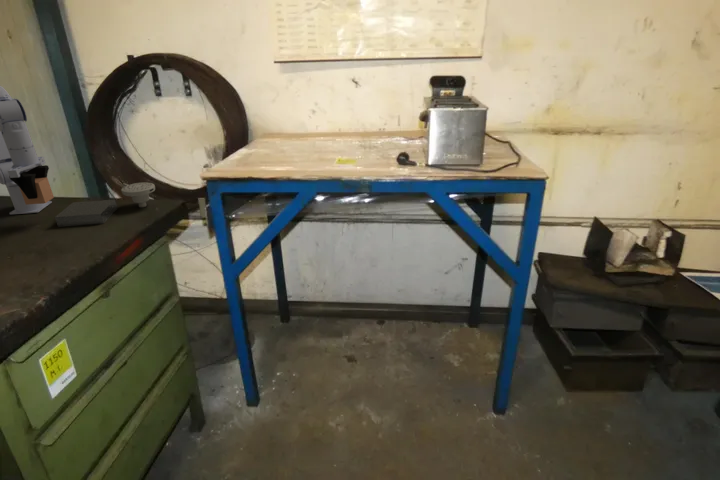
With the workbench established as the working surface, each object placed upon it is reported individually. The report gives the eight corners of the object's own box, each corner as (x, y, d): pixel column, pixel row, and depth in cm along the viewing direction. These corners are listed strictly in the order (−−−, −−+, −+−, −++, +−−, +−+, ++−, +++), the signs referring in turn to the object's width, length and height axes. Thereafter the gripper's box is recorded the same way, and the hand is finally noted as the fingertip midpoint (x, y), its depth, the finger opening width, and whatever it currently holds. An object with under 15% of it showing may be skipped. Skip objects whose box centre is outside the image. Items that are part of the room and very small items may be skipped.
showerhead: (132, 178, 136) (160, 180, 134) (138, 199, 139) (164, 201, 137) (111, 188, 128) (140, 189, 126) (117, 210, 131) (146, 212, 129)
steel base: (75, 211, 130) (72, 202, 129) (117, 208, 132) (114, 199, 131) (58, 226, 120) (54, 217, 118) (103, 223, 122) (100, 213, 120)
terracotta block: (35, 198, 122) (27, 178, 119) (54, 197, 122) (47, 177, 120) (25, 204, 117) (18, 183, 115) (45, 203, 118) (38, 182, 115)
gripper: (22, 152, 107) (40, 202, 113) (50, 140, 120) (65, 186, 126) (-9, 154, 106) (11, 204, 112) (22, 142, 119) (39, 187, 125)
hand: (38, 195), depth 119 cm, fingers closed on terracotta block, 5 cm apart
